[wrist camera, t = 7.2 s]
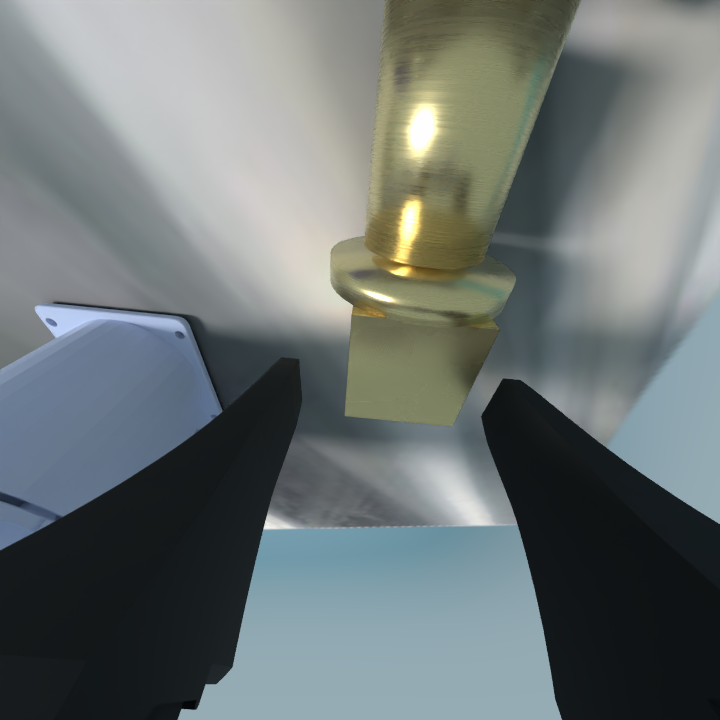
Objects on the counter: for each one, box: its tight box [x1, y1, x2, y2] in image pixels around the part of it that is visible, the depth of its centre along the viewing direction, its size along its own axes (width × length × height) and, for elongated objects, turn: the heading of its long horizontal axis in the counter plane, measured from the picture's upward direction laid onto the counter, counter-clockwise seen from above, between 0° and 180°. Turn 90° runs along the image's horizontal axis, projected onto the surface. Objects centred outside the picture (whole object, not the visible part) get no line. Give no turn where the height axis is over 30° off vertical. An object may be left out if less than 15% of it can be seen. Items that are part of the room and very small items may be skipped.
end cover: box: [330, 0, 581, 427], centre depth 8 cm, size 10×6×6 cm, turn 175°
